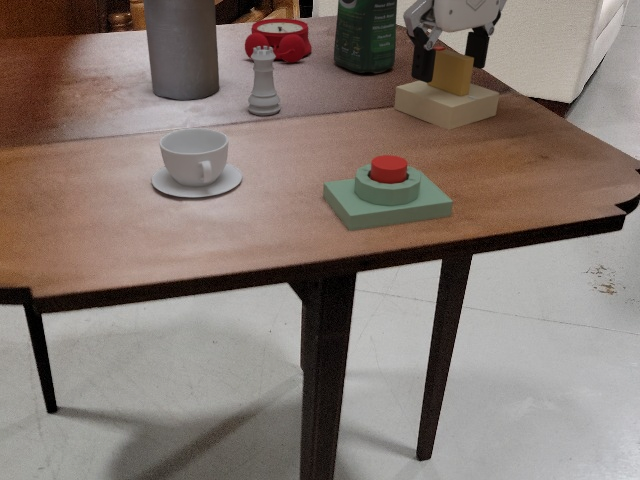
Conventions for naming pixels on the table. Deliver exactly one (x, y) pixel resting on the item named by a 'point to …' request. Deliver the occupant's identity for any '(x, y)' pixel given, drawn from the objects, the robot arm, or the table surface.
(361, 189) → the button block
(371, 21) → the coffee jar
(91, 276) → the table surface
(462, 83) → the handle
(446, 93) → the plate
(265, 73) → the rook chess piece
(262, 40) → the alarm clock
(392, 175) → the button
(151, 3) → the pillar candle
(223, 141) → the teacup
